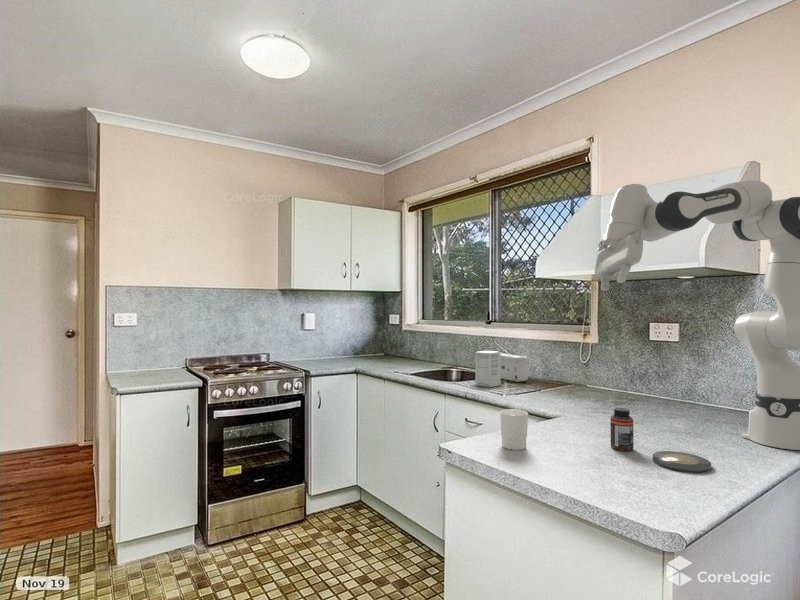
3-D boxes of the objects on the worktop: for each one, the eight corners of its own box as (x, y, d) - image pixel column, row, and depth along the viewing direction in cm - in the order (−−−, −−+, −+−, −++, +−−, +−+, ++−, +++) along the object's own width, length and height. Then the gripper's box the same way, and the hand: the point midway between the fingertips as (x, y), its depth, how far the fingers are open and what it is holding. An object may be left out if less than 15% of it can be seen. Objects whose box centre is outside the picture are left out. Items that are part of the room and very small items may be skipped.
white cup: (521, 441, 140) (521, 408, 140) (532, 450, 132) (532, 414, 132) (495, 443, 139) (496, 409, 139) (506, 451, 131) (506, 415, 131)
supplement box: (501, 385, 235) (501, 351, 235) (491, 387, 228) (491, 353, 228) (485, 382, 242) (485, 350, 242) (474, 385, 235) (474, 351, 235)
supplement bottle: (610, 444, 138) (610, 405, 138) (633, 447, 135) (633, 407, 135) (610, 450, 133) (610, 410, 133) (633, 453, 130) (633, 412, 130)
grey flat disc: (660, 452, 131) (660, 447, 131) (716, 463, 122) (716, 458, 122) (645, 463, 121) (645, 459, 121) (704, 477, 112) (704, 471, 112)
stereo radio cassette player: (528, 381, 246) (528, 343, 246) (517, 383, 241) (517, 344, 242) (501, 376, 264) (501, 340, 264) (490, 377, 260) (490, 341, 260)
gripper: (653, 229, 119) (644, 280, 117) (615, 252, 140) (607, 296, 137) (629, 223, 120) (619, 273, 117) (595, 247, 140) (585, 290, 137)
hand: (612, 286), depth 127 cm, fingers open, 8 cm apart
